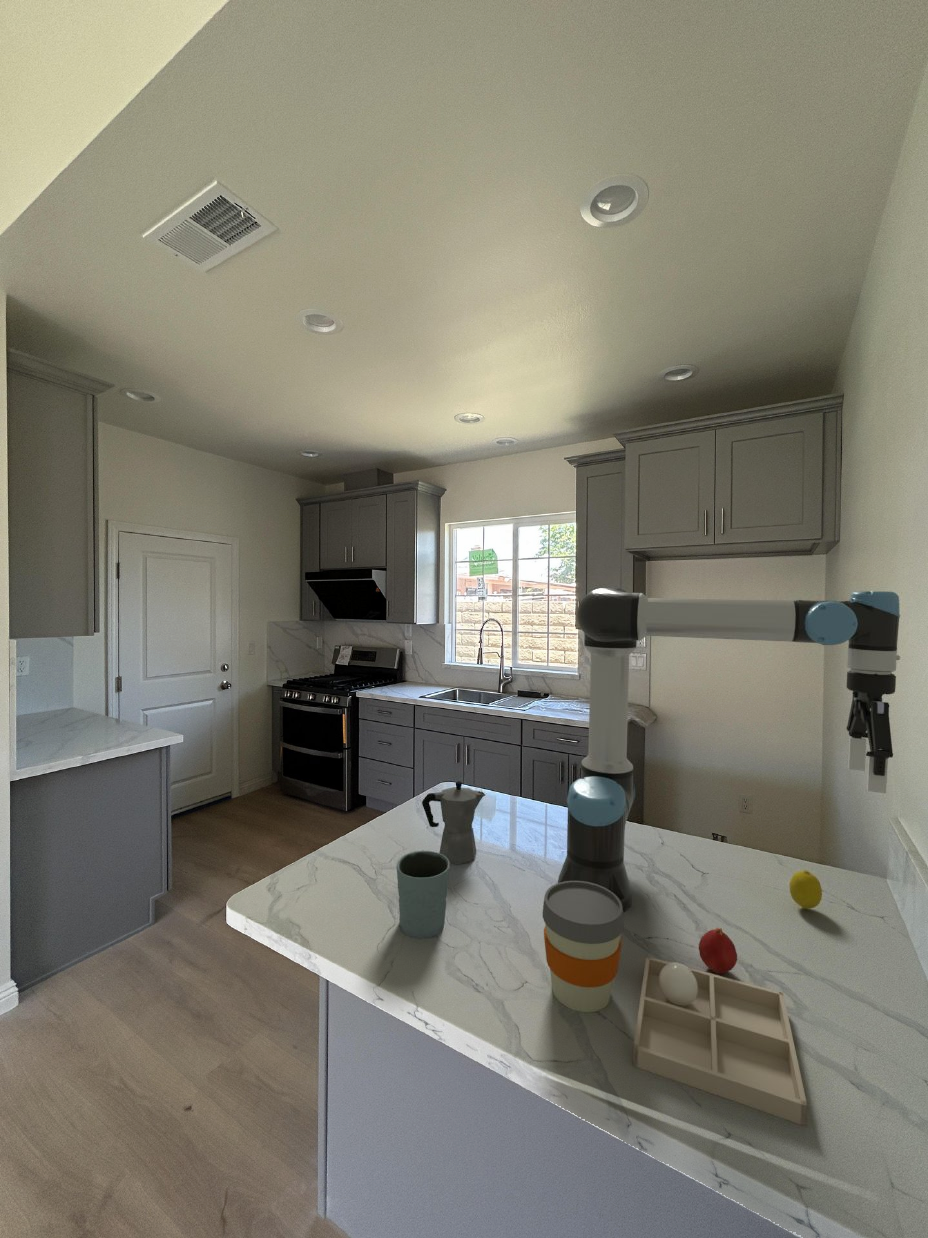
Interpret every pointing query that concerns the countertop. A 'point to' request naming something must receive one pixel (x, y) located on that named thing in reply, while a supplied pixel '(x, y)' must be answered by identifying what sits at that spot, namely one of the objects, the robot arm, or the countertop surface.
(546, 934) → the reusable coffee cup
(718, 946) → the onion
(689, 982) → the ceramic egg
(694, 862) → the countertop surface
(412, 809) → the countertop surface
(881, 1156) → the countertop surface
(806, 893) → the lemon
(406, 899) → the green cup
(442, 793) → the coffeepot
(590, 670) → the robot arm
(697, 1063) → the wooden tray
